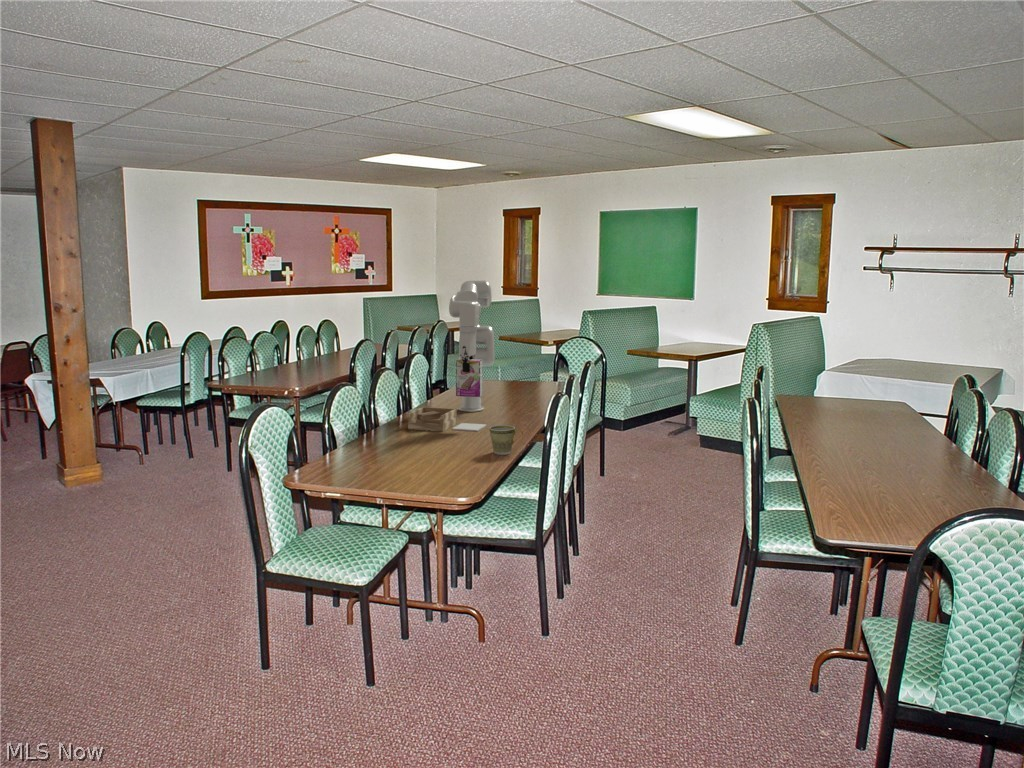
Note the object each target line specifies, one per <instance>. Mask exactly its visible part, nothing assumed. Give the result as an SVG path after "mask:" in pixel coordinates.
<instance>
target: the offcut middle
mask: <svg viewBox="0 0 1024 768" xmlns="http://www.w3.org/2000/svg"><path fill="white" fill-rule="evenodd" d="M416 423H429V424H441V418H438V419H432V420H425V421H421V420H418V419H416Z"/></svg>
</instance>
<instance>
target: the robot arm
mask: <svg viewBox="0 0 1024 768" xmlns="http://www.w3.org/2000/svg"><path fill="white" fill-rule="evenodd" d="M492 300H493V299H492V287H491V285H490V282H488V280H466V281H464V282H463V283H462V284H461V286H460V290H459V291H458V292H457V293H455V294H453V296H451V298H450V299H449V303H448V305H449V306H448V312H449V315H450V317H452V318H455V319H459V321H458V322H459V323H458V324H459V325H458V326H459V340H458V341H459V342H458V343H459V344H458V345H459V346H458V357H459V359H462V365H463V372H470V363H469V359H475V360H482V367H492V366H493V365H494V364H495V358H496V357H495V332H494V329H493V326H490V325H480V314H481V312H482V308H488V307H491V305H492ZM477 345H478V346H480V345H484V346H485V347H481V346H480V347H478V346H477ZM481 398H482V396H481V397H464V396H461V405H460V406H459V408H458V410H459V411H461V412H467V413H471V412H472V413H475V412H481V411H484V410H485V407H484V406H483V405H482V402H483V401H482V399H481Z"/></svg>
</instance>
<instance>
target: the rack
mask: <svg viewBox="0 0 1024 768" xmlns="http://www.w3.org/2000/svg"><path fill="white" fill-rule="evenodd" d="M432 411H435V412H439V413H440V418H441V424H429V423H416V419H417V414H419V413H426V412H432ZM457 411H458V409H457V408H449V407H448V408H447V407H446V408H445V407H432V406H431V407H428V406H423V407H420V408H417V409H416V410H414V411H411V412H409V413H407V418H408V419H407V421H408V422H407V429H408V430H413V429H414V430H416V431H428V430H430V432H431V431H432V432H445V431H446V430H448V429H450V428H453V427H455V426H457V425H458V414H457V413H458V412H457Z"/></svg>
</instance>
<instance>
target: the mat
mask: <svg viewBox="0 0 1024 768" xmlns="http://www.w3.org/2000/svg"><path fill="white" fill-rule="evenodd" d="M486 427H487V424H486V423H485V424H484V423H483V424H482V423H469V422H468V423H466V422H461V423H460V424H456V425H455V426H453V427H451V430H452V431H466V432H467V431H468V432H478V431H480V430H482V429H484V428H486Z"/></svg>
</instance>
